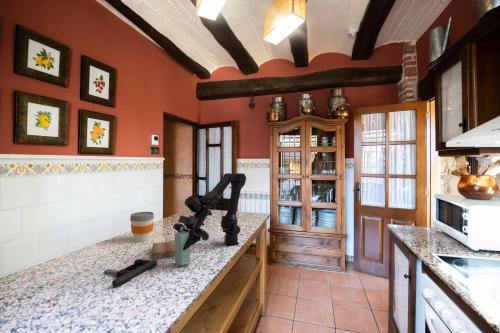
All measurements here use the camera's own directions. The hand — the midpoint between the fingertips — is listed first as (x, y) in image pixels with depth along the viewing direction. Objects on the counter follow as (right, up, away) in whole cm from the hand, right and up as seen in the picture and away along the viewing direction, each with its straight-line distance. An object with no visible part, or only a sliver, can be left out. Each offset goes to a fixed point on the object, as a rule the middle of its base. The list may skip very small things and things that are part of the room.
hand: (179, 248), depth 103 cm
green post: (+1, -7, +1) cm, 7 cm away
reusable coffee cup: (-32, -7, +35) cm, 47 cm away
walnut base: (-11, -7, +16) cm, 20 cm away
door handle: (-19, -8, -6) cm, 22 cm away
